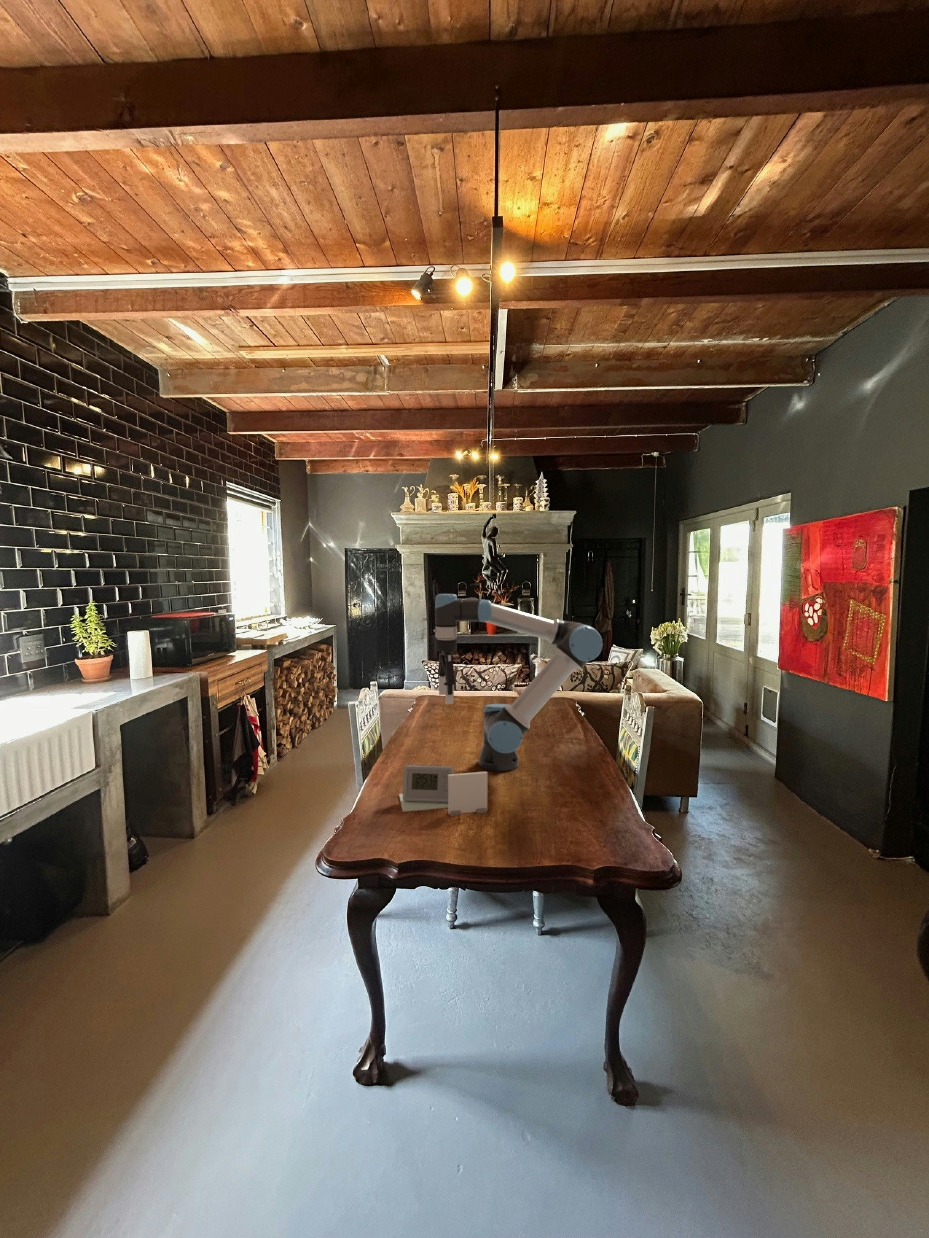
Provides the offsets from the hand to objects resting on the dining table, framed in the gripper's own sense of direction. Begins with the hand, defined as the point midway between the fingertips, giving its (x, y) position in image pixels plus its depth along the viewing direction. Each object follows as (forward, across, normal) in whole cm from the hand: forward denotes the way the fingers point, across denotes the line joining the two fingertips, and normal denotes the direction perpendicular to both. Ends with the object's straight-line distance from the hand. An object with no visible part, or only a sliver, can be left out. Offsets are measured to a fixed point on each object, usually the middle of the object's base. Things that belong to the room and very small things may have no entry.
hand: (446, 699), depth 187 cm
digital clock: (+28, +18, -9) cm, 34 cm away
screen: (+29, +27, +2) cm, 39 cm away
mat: (+29, +17, -8) cm, 34 cm away
